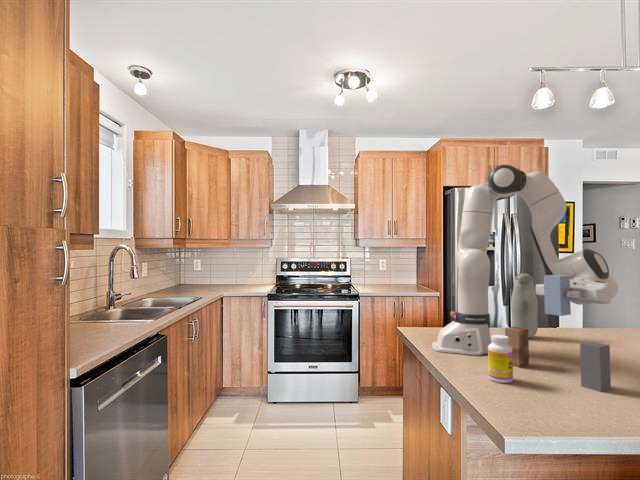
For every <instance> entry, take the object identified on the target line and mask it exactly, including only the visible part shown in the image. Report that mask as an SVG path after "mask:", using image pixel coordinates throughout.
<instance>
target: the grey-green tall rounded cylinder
mask: <svg viewBox="0 0 640 480" xmlns="http://www.w3.org/2000/svg"><path fill="white" fill-rule="evenodd" d="M513 282H514V283H513V289H512V293H511V299H510V300H511V301H510V311H511V312H510V315H511V317H510V318H511V327H519V328H524V329H528V336H529V339H530V338H533V337H534V336H536V334H537V332H538V329H539V327H538V326H539V321H538V320H539V319H538V318H539V316H538V315H539V314H538V313H539V311H538V310H539V309H538V308H539V306H538V305H539V304H538V297H537V294H536V288H535V283H534V278H533V277H532V276H531V274H529V273H518V274H516V276H515V277H514V281H513Z"/></svg>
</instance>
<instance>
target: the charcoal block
mask: <svg viewBox="0 0 640 480" xmlns="http://www.w3.org/2000/svg"><path fill="white" fill-rule="evenodd" d="M579 347H580V349H579V353H580V355H579V357H580V359H579V360H580V386H581V387H583V388H586V389H590V390H593V391H596V392H598V393H602V392H605V391H608V390H611V389H612V387H611V386H612V385H611V383H612V382H611V380H612V379H611V349H610V348H611V347H610V344H605V343H600V342H595V341H584V342H581V343H580V344H579Z"/></svg>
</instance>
